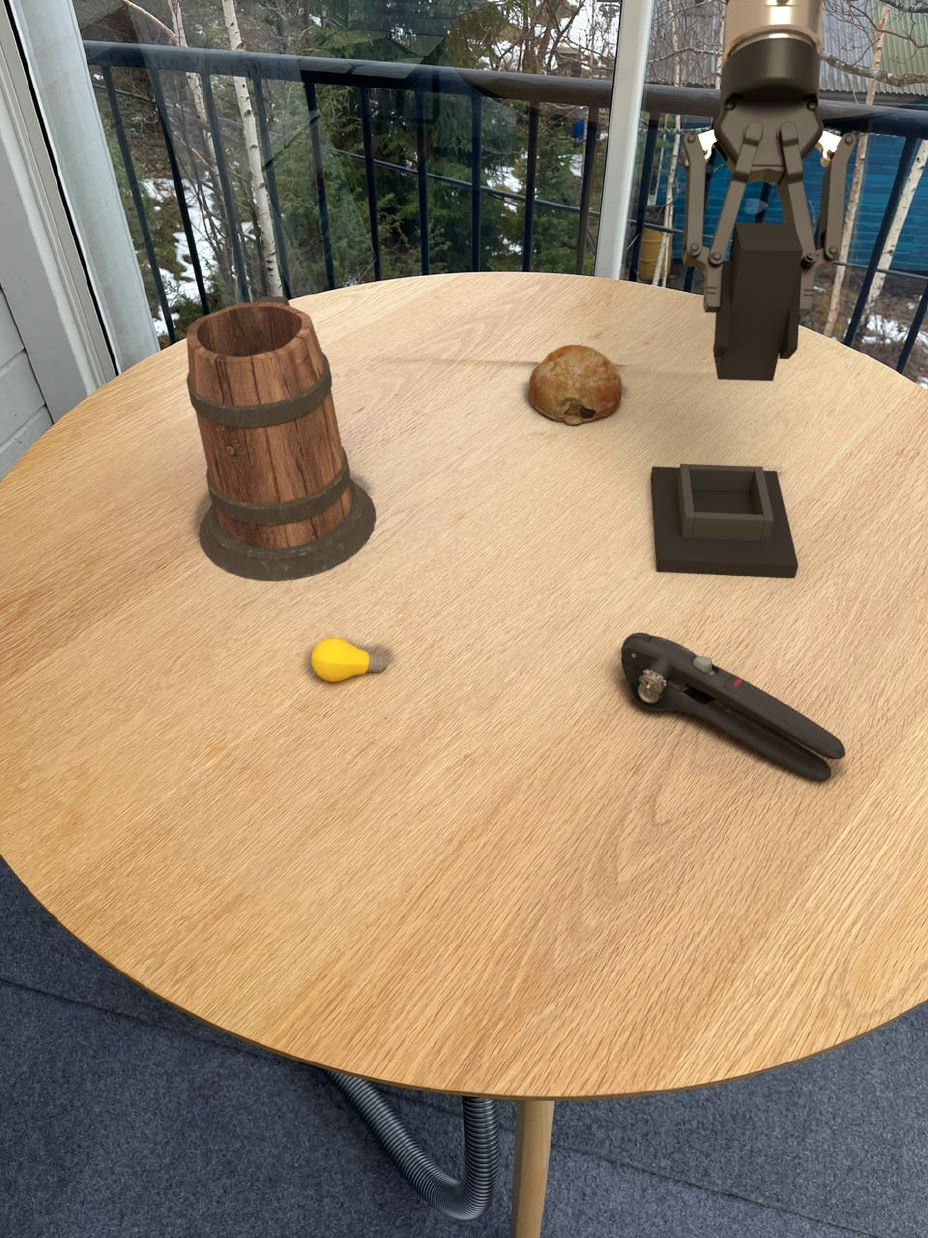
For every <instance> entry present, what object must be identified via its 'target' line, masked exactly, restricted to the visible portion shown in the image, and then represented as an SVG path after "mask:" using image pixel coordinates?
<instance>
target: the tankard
mask: <svg viewBox="0 0 928 1238" xmlns="http://www.w3.org/2000/svg"><path fill="white" fill-rule="evenodd" d="M186 347H187V348H186V349H187V361H188V364H187V365H188V373H187V376H186V387H187V390H188V395H189V401H190V404H191V406H192V408H193V409H194V411H195V415H196V420H197V423H198V430H199V434H200V439H201V443H202V449H203V452H204V457H205V462H206V466H207V467H206V473H205V478H206V483H207V488H208V492H209V498H210V500H211V502H210V505H209V508H208V510H207V511H206V512H204V513H205V514H204V516H203V518H202V520H201V522H200V525H199V532H198V538H199V542H200V543H199V544H200V547H201V549H202V551H203V552H204V554H205V557H207V558H208V559H209V560H210V562H212V563H213V564H214V565H215V566H217V567H218V568H220V569H222V570H224V571H225V572H226V573H230V574H232V575H234V576H237V577H240V578H245V579H251V580H256V581H267V582H268V581H270V582H279V581H293V580H298V579H303V578H307V577H312V576H315V575H318V574H321V573H323V572H326V571H329V570H331V569H333V568H335V567H337V566H339V565H341V564H343V563H345V562H347V561H348V560H349V559H350V558H352V557H353V556H355V554H357V553H358V552H359V551H360V550H361V549H362V548H363V547H364V546H365V545H366V544H367V542H368V541H369V540H370V537H371V536H372V535H373V532H374V530H375V527H376V522H377V510H376V506H375V504H374V501H373V499H372V497H371V496H370V495H369V493H368V492H367V491H366V490H365V489H364V488H363V487H361V486H360V485H358V483H356V482H355V480H354V479H352V478H351V470H350V465H349V459H348V455H347V453H346V449H345V448H344V447H343V445H342V444H343V443H342V439H341V435H340V430H339V429H340V428H339V423H338V419H337V414H336V407H335V402H334V396H333V392H332V387H333V378H332V371H331V366H330V362H329V359H328V357H327V356H326V354H325V352H323V350H322V347H321V345H320V341H319V338H318V335H317V333H316V329H315V326H314V323H313V319H312V318H311V316H310V315H309V314H307V313H306V312H304V311H302V310H299V309H297V308H296V307H293V306H291V305H290V302H289V299H288V297H286V296H284V295H281V296H262V297H260V298H259V299H258V301H255V302H253V301H252V302H250V301H249V302H243V303H237V304H233V305H230V306H227V307H225V308H222V309H220V310H217V311H215V312H213V313H212V312H211V313H209V314H206V315H204V316H202V317H199V318H197V319H196V320H194V321H193V322H192V323H191V324H190V326H188V329H187V333H186Z"/></svg>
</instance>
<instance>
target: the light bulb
mask: <svg viewBox="0 0 928 1238" xmlns="http://www.w3.org/2000/svg"><path fill="white" fill-rule="evenodd" d="M387 664H388V661H386V660H385V658H384V657H383V656H382V655H381V654H380V655H379V654H372V653H371V654H369V652H367V651H366V650H364V649H360V648H357V646H354V645H353V644H351V643H350V642H348V641H346V640H345V639H343V638H341V637H336V636H335V637H327V638H325V639H322V640H321V641H320V642H318V643H317V644H316V645H315V647H314V648H313V650H312V654H311V666H312V668H313V671H314V672H315V673H316V674H317V675H318V677H320V678H321V679H323V680H324V681H328V682H340V681H344V680H347V679H349V678H351V677H353V676H356V675H357V676H358V675H365V673H367V672H372V673H373V672H374V673H380V674H381V672H382V671H384V669H386V668H387Z"/></svg>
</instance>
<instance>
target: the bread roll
mask: <svg viewBox="0 0 928 1238" xmlns="http://www.w3.org/2000/svg"><path fill="white" fill-rule="evenodd" d="M622 381H623V380H622V376H621V373H620V371H619V369H618V368H617V366H616V365H615V363H613V361H612V360H611V359H610V358H608V357H606V356H605V355H604V354H603V353H602V352H600V351H598V350H596V349H594V348H593V347H589V346H586V345H581V344H567V345H563V346H560V347H558V348H556V349H555V350H553V351H551V352H549V353H548V354H547V355H546V357H545V358H543V360H542V361H541V362H539V363H537V364H536V365H535V366H534V368H533V369H532V371H531V374H530V376H529V381H528V382H529V384H528V385H529V390H528V397H529V398H528V399H529V401H530V404H531V405H532V406H533V407H534V408H535V409H536V410H537V412H539V413H541V414H543V415H544V416H546V417H547V418H549V419H551V420H553V421H556V422H557V421H558V422H560V423H566V424H567V425H569V426H574V425H578V424H582V423H583V424H584V423H586V422H587V423H588V422H593V421H596V420H598V419H601V418H607V417H608V416H610V415H612V414H613V413H614V412H615V411H616V410H617V408H618V406H619V405H620V403H621V399H622V395H623V394H622V393H623V382H622Z"/></svg>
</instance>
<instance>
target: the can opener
mask: <svg viewBox="0 0 928 1238" xmlns="http://www.w3.org/2000/svg"><path fill="white" fill-rule="evenodd" d="M620 654H621V656H620V662H621V667H622V671H623V674H624V676H625V678H626V682H627V685H628V690H629V693H630V696H631V697H632V700H633V701H634V702H635V703H636V705H638V706H639V707H640V708H642V709H643V710H646V711H650V712H667V711H668V712H671V711H676V712H683V713H686V714H689V715H693V716H696V717H698V718H701V719H702V720H704V721H706V722H709V723H711V724H712V725H714V726H716V727H717V728H719V729H720V730H722V731H724V732H725V733H726V734H728V735H730V736H732V737H733V738H734V739H736V740H738V741H740V742H741V743H742V744H744V745H746V746H748V747H749V748H751V749H752V750H754V751H755V752H757V753H758V754H760V755H762V756H764V757H765V758H767V759H769V760H771V761H772V762H774V763H776V764H778V765H780V766H782V767H784V768H786V769H788V770H790V771H792V772H795V773H797V774H799V775H801V776H803V777H805V778H808V779H811V780H813V781H819V782H825V781H828V780H829V779H831V777H832V775H833V774H832V768H831V766H830V765H829V763H828V762H827V761H826V760H825V759H829V760H841V759H843V758H844V757H845V756H846V749H845V746H844V744H843V742H842V740H841V739H839V738H838V737H837V736H836V735H834V734H833V733H831V732H830V731H828V730H827V729H826V728H825V727H822V726H821V725H819V724H818V723H817V722H815V721H813V720H812V719H811V718H809V717H807V716H806V715H804V714H803V713H801V712H800V711H798V710H796V709H795V708H793V707H792V706H790V705H788V704H787V703H785V702H783V701H782V700H781V699H778V698H777V697H776V696H773V695H772V694H770V693H768V692H766V691H765V690H763V689H761V688H759V687H758V686H756V685H754V684H752V683H751V682H749V681H747V680H745V679H743V678H742V677H740V676H737V674H733V673H731V672H729V671H728V670H725V669H724V668H721V667H720V666H718V665H715V664H713V660H712V658H710V657H709V656H703V655H697V654H696V653H695V652H694V651H692V650H690V649H689V648H687V647H685V646H684V645H682V644H680V643H678V642H675V641H673V640H671V639H667V638H664V637H663V636H659V635H658V636H657V635H651V634H649V633H645V632H641V631H640V632H635V633H632V634H630V635H628V636H627V637H626V638H625V640H624V641H623V642H622V645H621V649H620ZM822 757H823V758H825V759H823V758H822Z"/></svg>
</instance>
